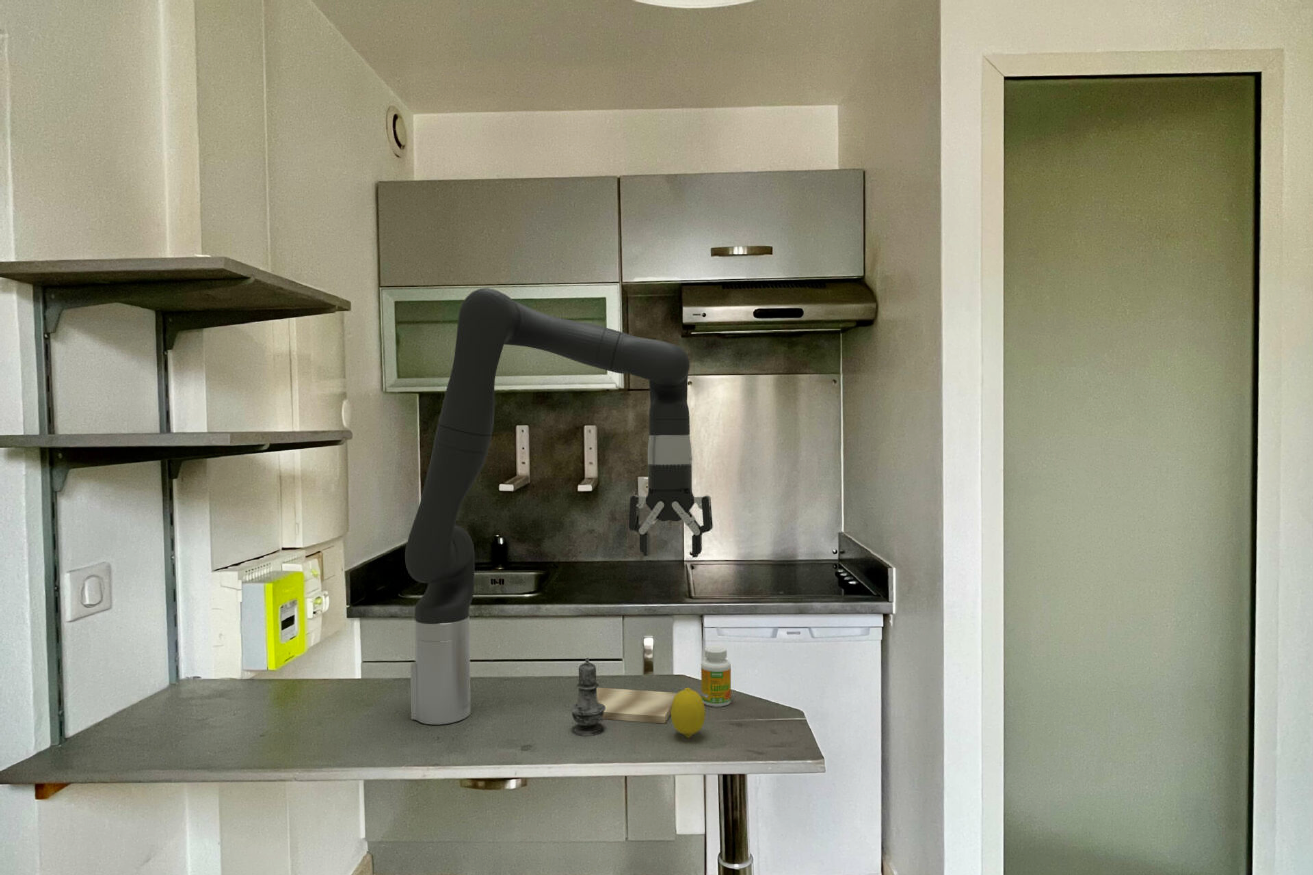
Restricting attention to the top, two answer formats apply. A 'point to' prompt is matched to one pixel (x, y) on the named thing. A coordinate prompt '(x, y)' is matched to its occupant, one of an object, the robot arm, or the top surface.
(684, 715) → the lemon
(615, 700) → the birch board
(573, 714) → the salt shaker
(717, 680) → the supplement bottle
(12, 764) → the top surface
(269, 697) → the top surface
